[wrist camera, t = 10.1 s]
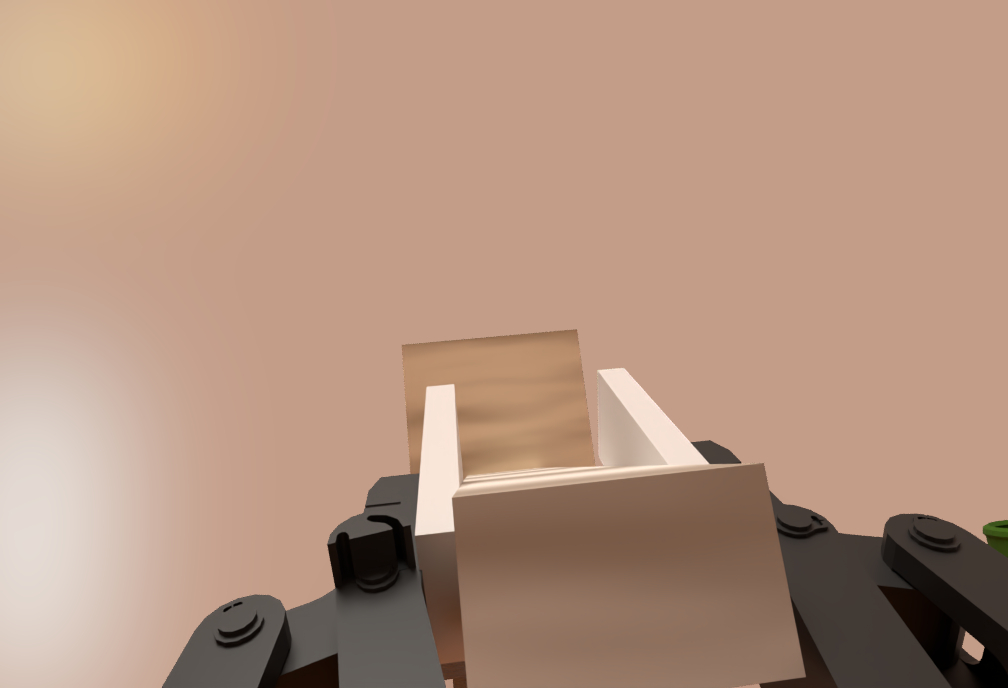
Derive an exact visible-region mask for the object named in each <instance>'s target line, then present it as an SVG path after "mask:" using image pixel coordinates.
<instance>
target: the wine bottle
mask: <svg viewBox="0 0 1008 688" xmlns="http://www.w3.org/2000/svg"><path fill="white" fill-rule="evenodd" d="M983 534H985V535H986V538H987V542H988V545H989V546H991V547H992V548H994V549H995V550H997V551H998V552H1000V553H1001V554H1003V555H1004V556H1006V557H1007V558H1008V520H1004V521H996V522H991V523H989V524H987V525H985V526H983Z"/></svg>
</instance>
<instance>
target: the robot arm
mask: <svg viewBox="0 0 1008 688" xmlns="http://www.w3.org/2000/svg"><path fill="white" fill-rule="evenodd" d="M597 372H598V373H597V375H598V376H597V377H598V445H599V446H598V450H599V452H598V453H599V459H600V460H601V462H602V464H603V466H604V467H605V466H655V465H701V464H741V461H740V460H739V459H738V458H737V457H736V456H735V455H733V453H732V452H731V451H730V450H728V449H726V448H724V447H722V446H720V445H718V444H716V443H714V442H712V441H710V440H709V441H700V442H689V441H688V439H687V438H686V437H685V436H684V435H683V434H682V433H681V431H680V430H679V429H678V428H677V427H676V426H675V425H674V424H673V422H672V421H671V420H670V419H669V418H668V417H667V416H666V415H665V413H664V412H663V411H662V410H661V409H660V408H659V407H658V406H657V405H656V403H655V402H654V401H653V400H652V399H651V398H650V397H649V396H648V394H647V393H646V392H645V391H644V390H643V389H642V388H641V387H640V385H639V384H638V383H637V382H636V381H635V380H634V379H633V378H632V376H631V375H630V374H629V373H628V372H627V371H626V370H625V369H624V368H617V369H608V370H607V369H606V370H598V371H597ZM462 483H463V469H462V459H461V448H460V438H459V428H458V418H457V407H456V397H455V387H454V384H450V385H440V386H430V387H427V388H426V401H425V413H424V426H423V439H422V451H421V464H420V473H417V474H408V475H399V476H390V477H381V478H380V479H379V480H378V481H377V482H376V484H375V485H374V486H373V487H372V488H371V489H370V490H369V492H368V497H367V501H366V505H365V509H364V513H362V514H359V515H357V516H353V517H351V518H350V519H348V520H346V521H344V522H343V523H341V524H340V525H338V526H337V528H336V529H335V530H334V531H333V532H332V533H331V534H330V537H329V541H328V544H327V545H328V550H329V556H330V561H331V566H332V572H333V577H334V583H335V589H334V590H333V591H331V592H329V593H328V594H326V595H325V596H323V597H321V598H319V599H317V600H314V601H312V602H310V603H307V604H304V605H302V606H299V607H296V608H293V609H290V610H288V611H286V610H285V608H284V606H283V605H282V603H281V601H280V600H278V599H276V598H274V597H272V596H270V595H252V596H247V597H243V598H238V599H236V600H233V601H231V602H229V603H227V604H225V605H223V606H221V607H219V608H218V609H217V610H215V611H214V612H212V613H211V614H210V615H208V616H207V617H206V618H205V619H204V620H203V621H202V623H201V624H200V625H199V626H198V628H197V629H196V630H195V631H194V633H193V635H192V636H191V638H190V640H189V642H188V643H187V645H186V647H185V649H184V650H183V652H182V654H181V655H180V657H179V659H178V661H177V662H176V664H175V666H174V667H173V669H172V671H171V672H170V674H169V676H168V678H167V679H166V681H165V683H164V684H163V686H162V688H446V685H445V681H444V677H443V673H442V669H441V665H440V664H446V663H453V662H461V661H465V654H464V641H463V629H462V617H461V605H460V592H459V580H458V568H457V556H456V544H455V531H454V519H453V507H452V497H453V495H454V494H455V492H456V491H457V489H458V488H460V486H461V485H462ZM769 492H770V497H771V502H772V507H773V512H774V517H775V522H776V527H777V533H778V538H779V543H780V548H781V553H782V558H783V563H784V568H785V573H786V578H787V583H788V588H789V593H790V598H791V604H792V609H793V614H794V619H795V624H796V629H797V634H798V639H799V644H800V649H801V654H802V659H803V664H804V669H805V674H806V677H803V678H795V679H788V680H781V681H774V682H767V683H760V684H759V685H760V687H761V688H1008V558H1007V557H1006V556H1004V555H1003V554H1001V553H1000V552H998V551H997V550H995V549H994V548H992V547H991V546H989V545H988V544H986V543H985V542H983V541H981V540H980V539H978V538H977V537H976V536H974V535H973V534H971V533H969V532H968V531H966V530H964V529H962V528H960V527H959V526H957V525H955V524H953V523H950V522H947V521H944V520H941V519H939V518H937V517H933V516H929V515H927V516H926V515H923V514H899V515H896V516H894V517H890V518H889V520H888V521H887V522H886V524H885V528H884V534H883V537H872V536H861V535H850V534H842V533H838V531H837V530H836V529H835V527H834V526H833V525H832V524H831V523H830V522H829V521H827V519H825V518H824V517H823V516H821V515H819V514H817V513H815V512H813V511H811V510H809V509H805V508H802V507H799V506H795V505H786V504H783V503H782V502H781V501H780V500H779V499H778V498H777V497H776V496H775V495H774V494H773V493H772V492H771V491H770V490H769ZM966 631H967V632H968V633H969V634H970V635H972V636H973V637H974V638H975V639H977V640H978V641H979V642H980V643H981V644H982V645H983V646H984V647H985V648H984V652H983V656H982V659H981V660H980V661H978V660H976V659H975V658H973V657H972V656H971V655H969V654H968V653H967V652H966V651H965V650H964V649H963V648H962V645H963V640H964V636H965V632H966Z"/></svg>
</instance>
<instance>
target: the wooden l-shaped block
mask: <svg viewBox="0 0 1008 688" xmlns="http://www.w3.org/2000/svg"><path fill="white" fill-rule="evenodd" d="M402 355H403V368H404V369H403V370H404V382H405V383H404V384H405V399H406V413H407V429H408V443H409V457H410V472H411V474H417V473H420V464H421V451H422V439H423V426H424V413H425V401H426V388H427V387H430V386H440V385H450V384H454V387H455V397H456V407H457V418H458V428H459V438H460V448H461V459H462V469H463V483H462V485H461V486H460V488H458V489H457V491H456V492H455V494H454V495H453V497H452V507H453V519H454V531H455V544H456V556H457V568H458V580H459V592H460V605H461V617H462V629H463V641H464V654H465V666H466V678H467V688H732V687H739V686H746V685H753V684H760V683H767V682H774V681H781V680H788V679H795V678H803V677H806V674H805V669H804V664H803V659H802V654H801V649H800V644H799V639H798V634H797V629H796V624H795V619H794V614H793V609H792V604H791V598H790V593H789V588H788V583H787V578H786V573H785V568H784V563H783V558H782V553H781V548H780V543H779V538H778V533H777V527H776V522H775V517H774V512H773V507H772V502H771V497H770V492H769V487H768V482H767V477H766V472H765V467H764V463H756V464H755V463H750V464H701V465H655V466H605V467H604V466H603V467H595V459H594V452H593V444H592V437H591V430H590V422H589V415H588V408H587V400H586V393H585V385H584V378H583V371H582V364H581V356H580V348H579V341H578V334H577V330H565V331H554V332H542V333H531V334H521V335H509V336H497V337H486V338H475V339H464V340H453V341H441V342H430V343H419V344H408V345H402Z"/></svg>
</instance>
